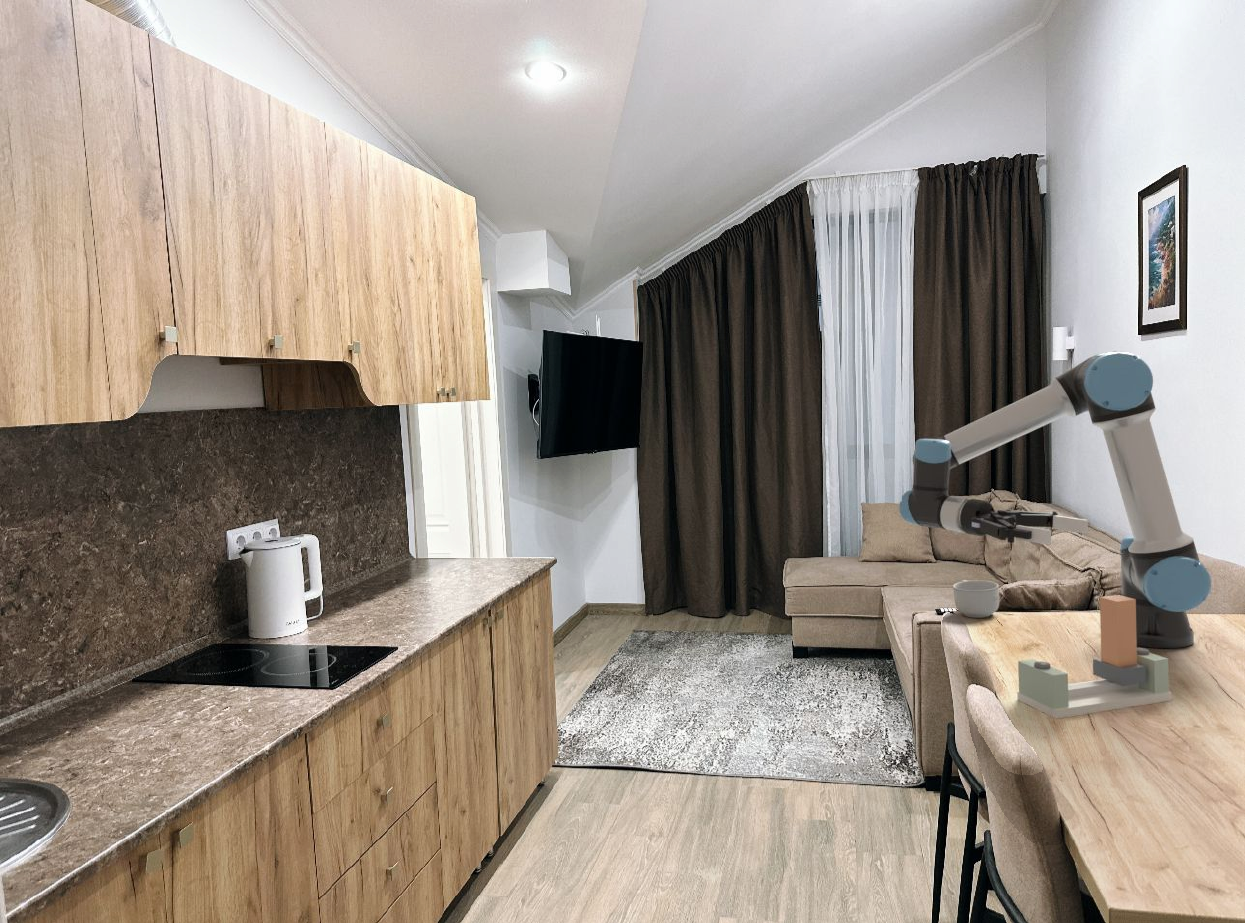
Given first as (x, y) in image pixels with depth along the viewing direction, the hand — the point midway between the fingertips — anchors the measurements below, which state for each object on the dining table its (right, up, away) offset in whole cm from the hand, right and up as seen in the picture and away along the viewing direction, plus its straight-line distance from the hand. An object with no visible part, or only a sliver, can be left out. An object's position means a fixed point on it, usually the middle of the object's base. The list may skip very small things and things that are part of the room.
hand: (1069, 532), depth 163 cm
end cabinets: (0, -28, -8) cm, 30 cm away
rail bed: (0, -30, -8) cm, 31 cm away
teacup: (+5, -26, +55) cm, 61 cm away
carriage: (+5, -26, -7) cm, 28 cm away
